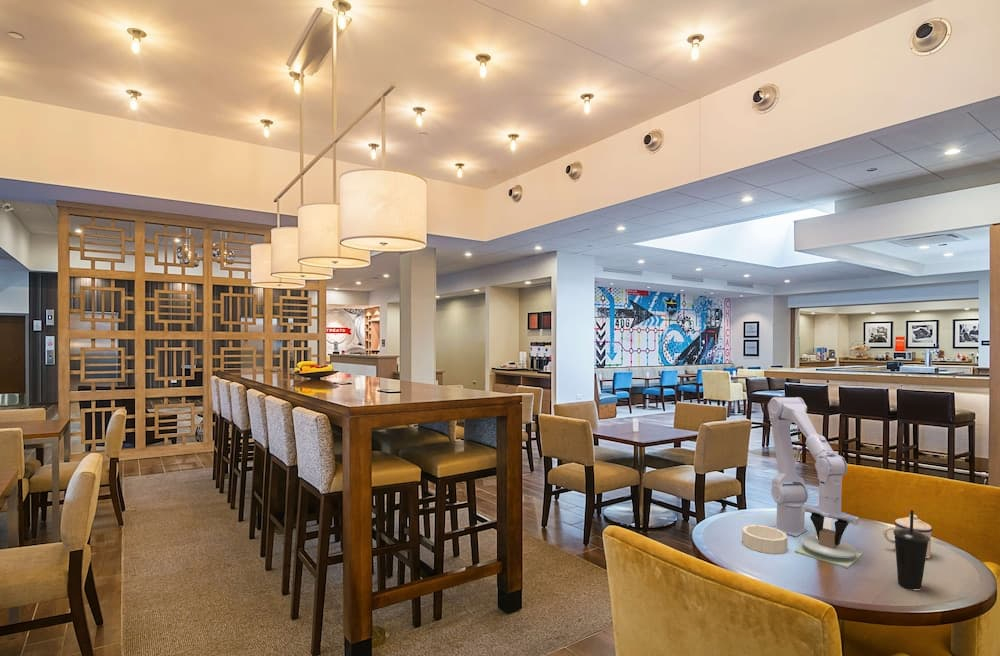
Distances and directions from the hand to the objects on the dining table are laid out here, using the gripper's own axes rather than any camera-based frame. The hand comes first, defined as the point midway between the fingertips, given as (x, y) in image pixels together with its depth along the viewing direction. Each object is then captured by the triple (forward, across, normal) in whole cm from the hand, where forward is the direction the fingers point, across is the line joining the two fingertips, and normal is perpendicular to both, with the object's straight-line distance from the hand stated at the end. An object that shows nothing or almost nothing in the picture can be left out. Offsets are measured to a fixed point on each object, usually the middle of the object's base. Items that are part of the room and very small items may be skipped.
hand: (828, 541), depth 163 cm
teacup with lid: (+4, +15, +20) cm, 25 cm away
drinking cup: (+4, +21, -6) cm, 22 cm away
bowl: (+4, -15, -9) cm, 18 cm away
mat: (+4, 0, 0) cm, 4 cm away
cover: (+2, 0, 0) cm, 2 cm away
